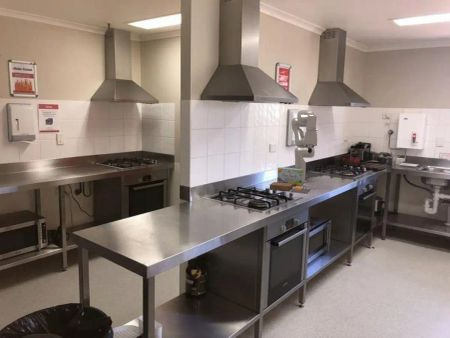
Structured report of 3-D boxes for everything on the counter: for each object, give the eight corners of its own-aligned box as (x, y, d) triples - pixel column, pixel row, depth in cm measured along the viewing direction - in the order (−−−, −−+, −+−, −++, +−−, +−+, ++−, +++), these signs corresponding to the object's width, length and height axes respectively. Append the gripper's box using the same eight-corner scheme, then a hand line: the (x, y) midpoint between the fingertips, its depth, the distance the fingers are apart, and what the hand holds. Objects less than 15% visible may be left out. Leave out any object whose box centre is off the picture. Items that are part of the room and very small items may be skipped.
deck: (273, 186, 306) (274, 181, 306) (293, 188, 300) (293, 183, 300) (269, 189, 293) (269, 184, 293) (289, 191, 287) (289, 186, 287)
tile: (303, 186, 294) (303, 189, 295) (296, 185, 296) (296, 188, 297) (301, 188, 286) (301, 191, 286) (294, 187, 288) (293, 190, 289)
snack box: (276, 185, 315) (277, 167, 313) (278, 184, 320) (279, 166, 317) (301, 187, 305) (301, 169, 303) (302, 186, 310) (303, 168, 308)
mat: (294, 188, 301) (294, 187, 301) (310, 189, 296) (310, 189, 296) (290, 191, 286) (290, 191, 286) (307, 193, 281) (307, 193, 281)
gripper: (321, 130, 296) (319, 153, 298) (302, 129, 301) (301, 152, 304) (319, 130, 289) (318, 154, 292) (300, 130, 294) (299, 153, 297)
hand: (309, 153), depth 298 cm, fingers closed
